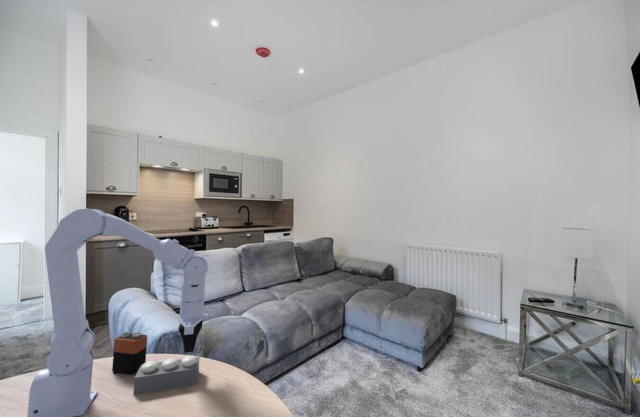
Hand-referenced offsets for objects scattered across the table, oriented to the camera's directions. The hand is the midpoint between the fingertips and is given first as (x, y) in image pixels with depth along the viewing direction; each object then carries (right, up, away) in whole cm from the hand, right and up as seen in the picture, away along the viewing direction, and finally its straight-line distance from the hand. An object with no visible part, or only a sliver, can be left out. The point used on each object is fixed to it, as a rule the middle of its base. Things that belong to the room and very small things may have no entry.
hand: (189, 351), depth 71 cm
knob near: (-9, -7, -4) cm, 12 cm away
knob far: (0, -7, 0) cm, 7 cm away
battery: (-18, -7, +3) cm, 20 cm away
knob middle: (-4, -7, -2) cm, 9 cm away
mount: (-4, -7, -2) cm, 9 cm away
